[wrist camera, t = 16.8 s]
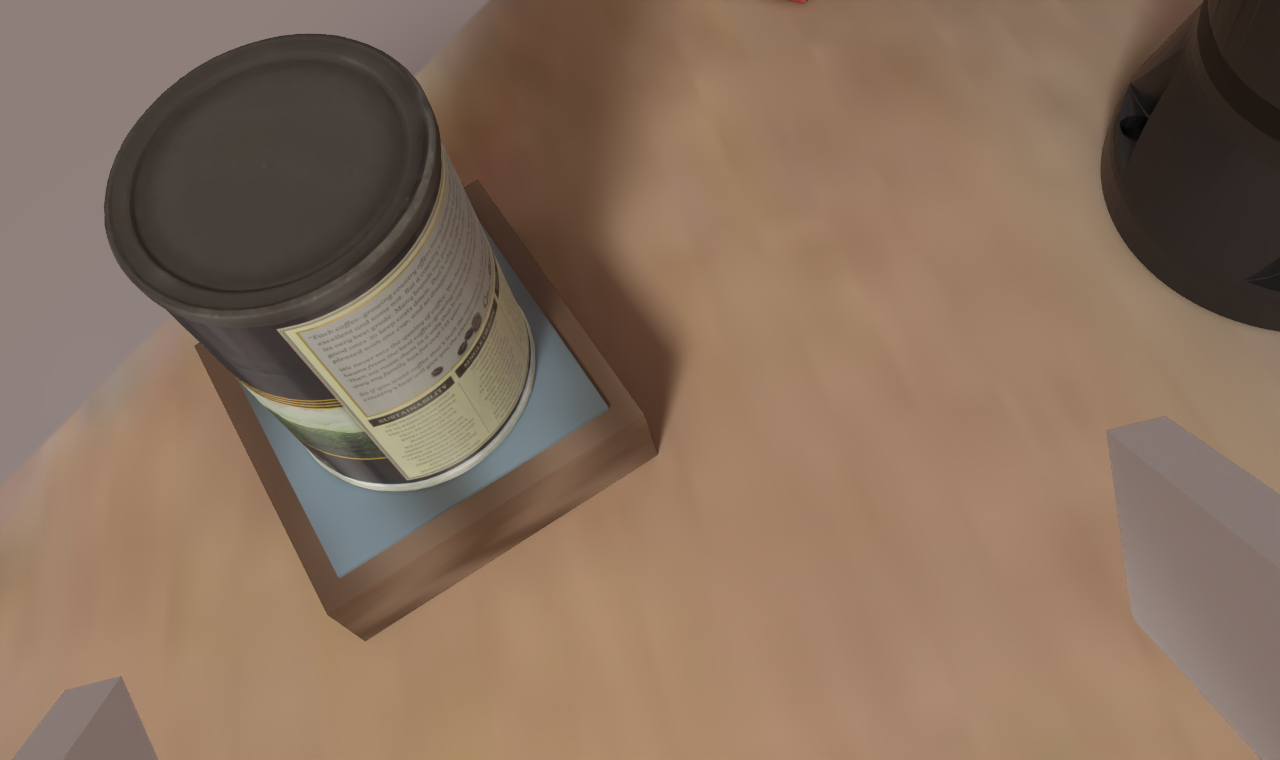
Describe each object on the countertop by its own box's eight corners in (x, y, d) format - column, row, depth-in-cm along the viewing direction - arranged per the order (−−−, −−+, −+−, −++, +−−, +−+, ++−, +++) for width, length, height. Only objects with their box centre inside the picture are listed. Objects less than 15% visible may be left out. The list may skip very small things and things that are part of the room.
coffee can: (287, 514, 45) (82, 342, 33) (296, 288, 50) (119, 63, 38) (547, 474, 44) (439, 282, 32) (531, 248, 49) (431, 4, 37)
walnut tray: (499, 230, 55) (476, 177, 51) (657, 454, 49) (643, 412, 45) (236, 387, 53) (192, 343, 50) (365, 641, 47) (325, 613, 43)
